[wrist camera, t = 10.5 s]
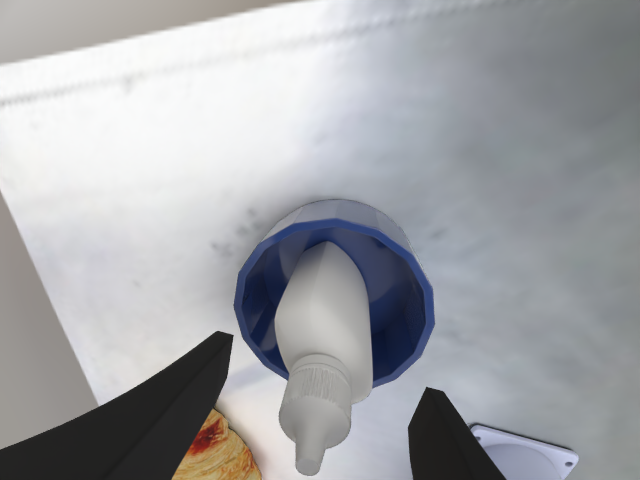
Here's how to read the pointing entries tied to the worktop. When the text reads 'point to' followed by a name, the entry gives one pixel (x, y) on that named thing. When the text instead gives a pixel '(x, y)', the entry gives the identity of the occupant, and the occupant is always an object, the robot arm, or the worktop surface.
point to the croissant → (217, 454)
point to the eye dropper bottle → (323, 351)
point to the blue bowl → (374, 265)
